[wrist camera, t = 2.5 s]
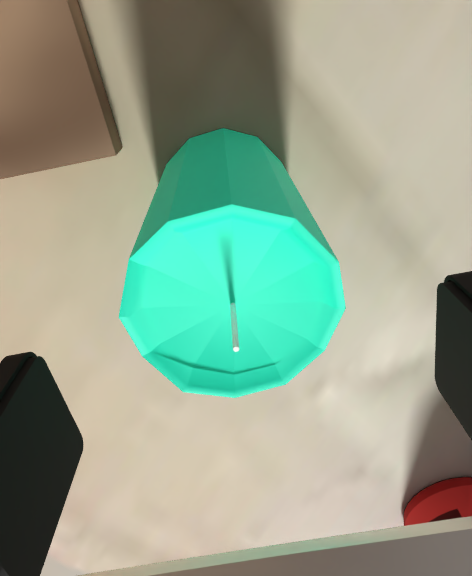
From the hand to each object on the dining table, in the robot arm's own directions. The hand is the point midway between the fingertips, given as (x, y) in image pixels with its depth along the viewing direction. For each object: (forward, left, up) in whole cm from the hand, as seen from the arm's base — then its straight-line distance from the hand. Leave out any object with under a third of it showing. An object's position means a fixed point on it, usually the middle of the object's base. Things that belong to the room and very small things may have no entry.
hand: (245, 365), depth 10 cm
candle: (-1, 0, -12) cm, 12 cm away
